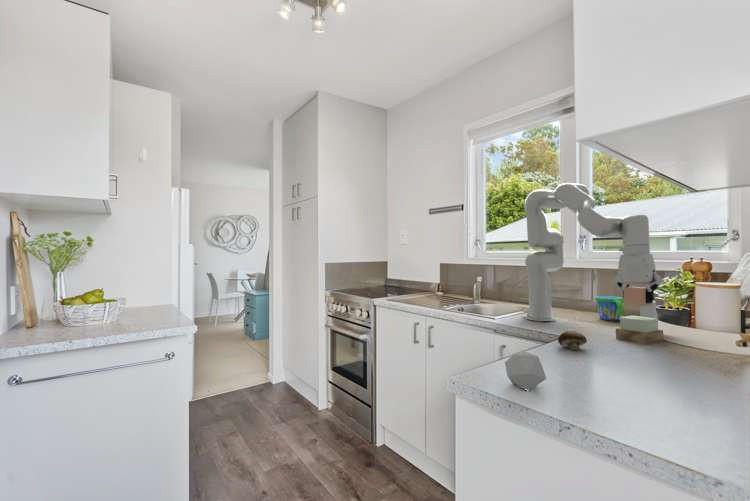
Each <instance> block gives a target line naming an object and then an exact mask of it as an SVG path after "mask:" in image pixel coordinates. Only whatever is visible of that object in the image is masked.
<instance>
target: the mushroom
mask: <svg viewBox="0 0 750 501" xmlns="http://www.w3.org/2000/svg"><path fill="white" fill-rule="evenodd" d="M587 340H588V339H587V337H586V336H585V335H584V334H583V333H580V332H577V331H574V330H569V331H568V330H567V331H564V332H562V333H561V334H560V335H559V336H558V338H557V341H558V343H559V345H560V346H561V347H564V348H569V350H573V351H580V350H581V348H580V346H583V345H585V344H586V343H587Z"/></svg>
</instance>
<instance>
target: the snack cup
mask: <svg viewBox="0 0 750 501" xmlns="http://www.w3.org/2000/svg"><path fill="white" fill-rule="evenodd" d="M594 299H595V301H596V306H595V307H596V309H597V310H598V316H599V319H600V320H604V321H610V322H611V321H612V322H615V321H619V320H620V317H621V316H622V315H623V314H624V308H623V303H624V298H623V297H620V296H611V295H610V296H609V295H608V296H607V295H598V296H597V295H596V296H595V297H594Z"/></svg>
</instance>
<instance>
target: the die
mask: <svg viewBox="0 0 750 501" xmlns="http://www.w3.org/2000/svg"><path fill="white" fill-rule="evenodd" d="M504 365H505V370H506V371H505V372H506V375H507V376H506V377H507V378H508V379H509V381H510V382H511V384H512V383H514V384H516V385H518V386H519V387H518V386H517V387H518V388H520V387H521V388H520V389H522V388H523V389H527V390H529V391H531V390H532V389H533V388H535V387H537V386H538V385H540V384H541V383H543V382H544V381H546V380H547V376H546V373H545V371H544V366H543V364H542V362H541V360H540V358H539V355H536V354H533V353H531V352H528V351H526V350H520V351H518V352H515V353H514V354H513V355H512V356H510V357H509V358H508V359H507V360H505V362H504ZM514 384H513V385H514ZM516 385H515V386H516ZM523 389H522V390H523Z"/></svg>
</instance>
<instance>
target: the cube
mask: <svg viewBox="0 0 750 501" xmlns="http://www.w3.org/2000/svg"><path fill="white" fill-rule="evenodd" d="M646 291H647V289H646V287H645V286H644V287H643V286H642V287H641V286H630V287H626V288H624V298H623V299H624V301H623V305H625V306H633V307H640V306H642V307H645V306H651V305H653V303H646Z"/></svg>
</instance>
